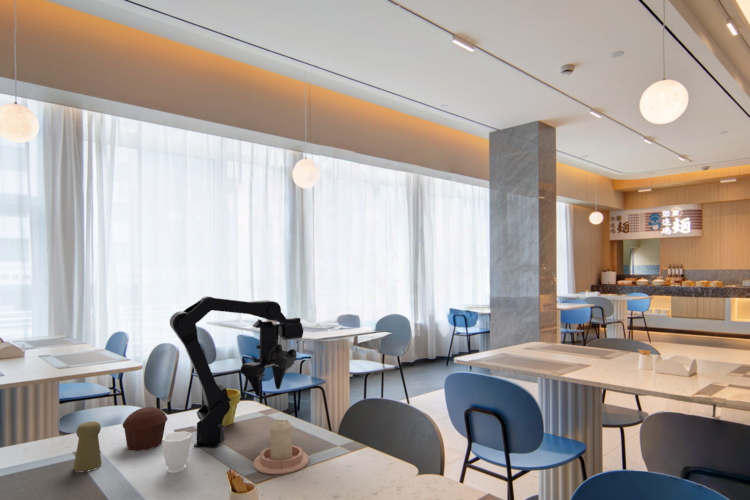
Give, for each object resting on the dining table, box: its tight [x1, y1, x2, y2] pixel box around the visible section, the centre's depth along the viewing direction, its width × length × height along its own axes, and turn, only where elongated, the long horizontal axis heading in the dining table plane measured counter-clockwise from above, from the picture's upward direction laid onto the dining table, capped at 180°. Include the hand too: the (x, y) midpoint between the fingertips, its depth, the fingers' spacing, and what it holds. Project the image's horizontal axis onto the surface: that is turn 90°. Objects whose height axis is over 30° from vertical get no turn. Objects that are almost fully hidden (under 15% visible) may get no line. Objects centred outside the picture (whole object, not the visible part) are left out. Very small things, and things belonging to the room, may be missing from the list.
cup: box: [161, 430, 194, 474], centre depth 113 cm, size 7×10×8 cm
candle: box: [270, 419, 293, 460], centre depth 116 cm, size 6×6×10 cm
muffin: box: [122, 406, 168, 452], centre depth 127 cm, size 12×11×10 cm
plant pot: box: [222, 388, 241, 427], centre depth 145 cm, size 10×10×10 cm
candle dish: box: [253, 444, 310, 475], centre depth 116 cm, size 14×14×2 cm
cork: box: [73, 420, 103, 471], centre depth 113 cm, size 6×6×11 cm
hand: (268, 392), depth 138 cm, fingers open, 9 cm apart
